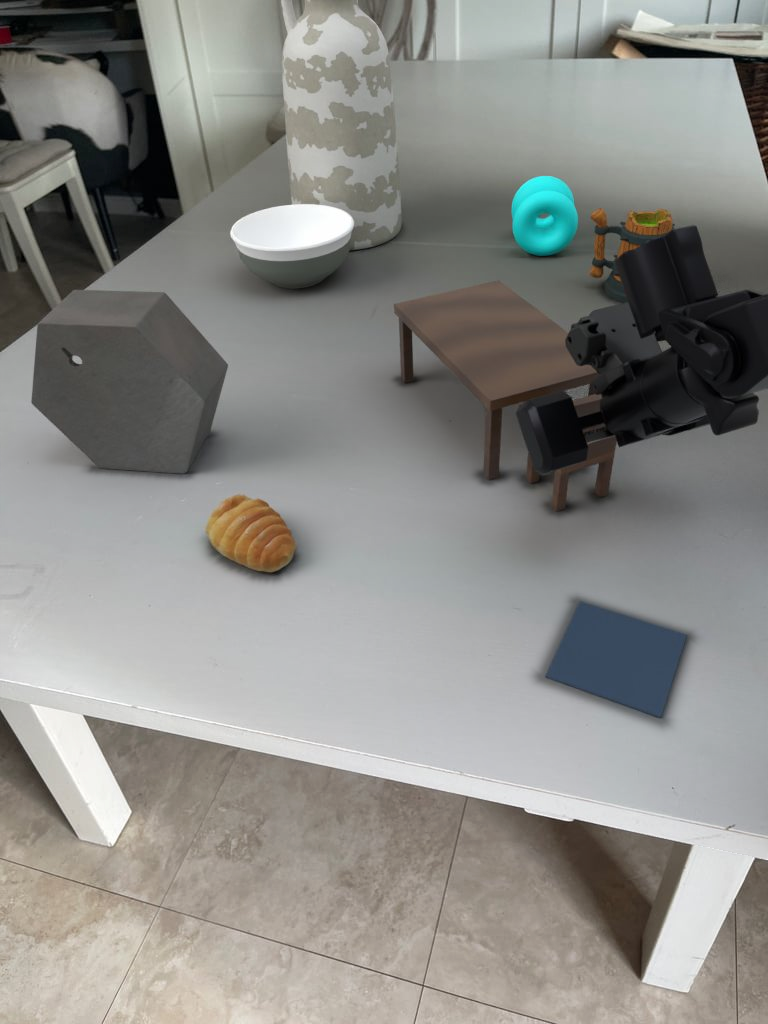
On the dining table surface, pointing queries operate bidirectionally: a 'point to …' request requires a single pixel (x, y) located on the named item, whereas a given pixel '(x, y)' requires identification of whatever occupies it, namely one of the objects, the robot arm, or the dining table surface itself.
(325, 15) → the vase
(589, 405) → the chair
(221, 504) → the pastry
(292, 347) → the dining table surface
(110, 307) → the grey hexagonal prism
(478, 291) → the side table
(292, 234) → the bowl
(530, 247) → the donuts
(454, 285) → the dining table surface
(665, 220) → the mug
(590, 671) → the mat
